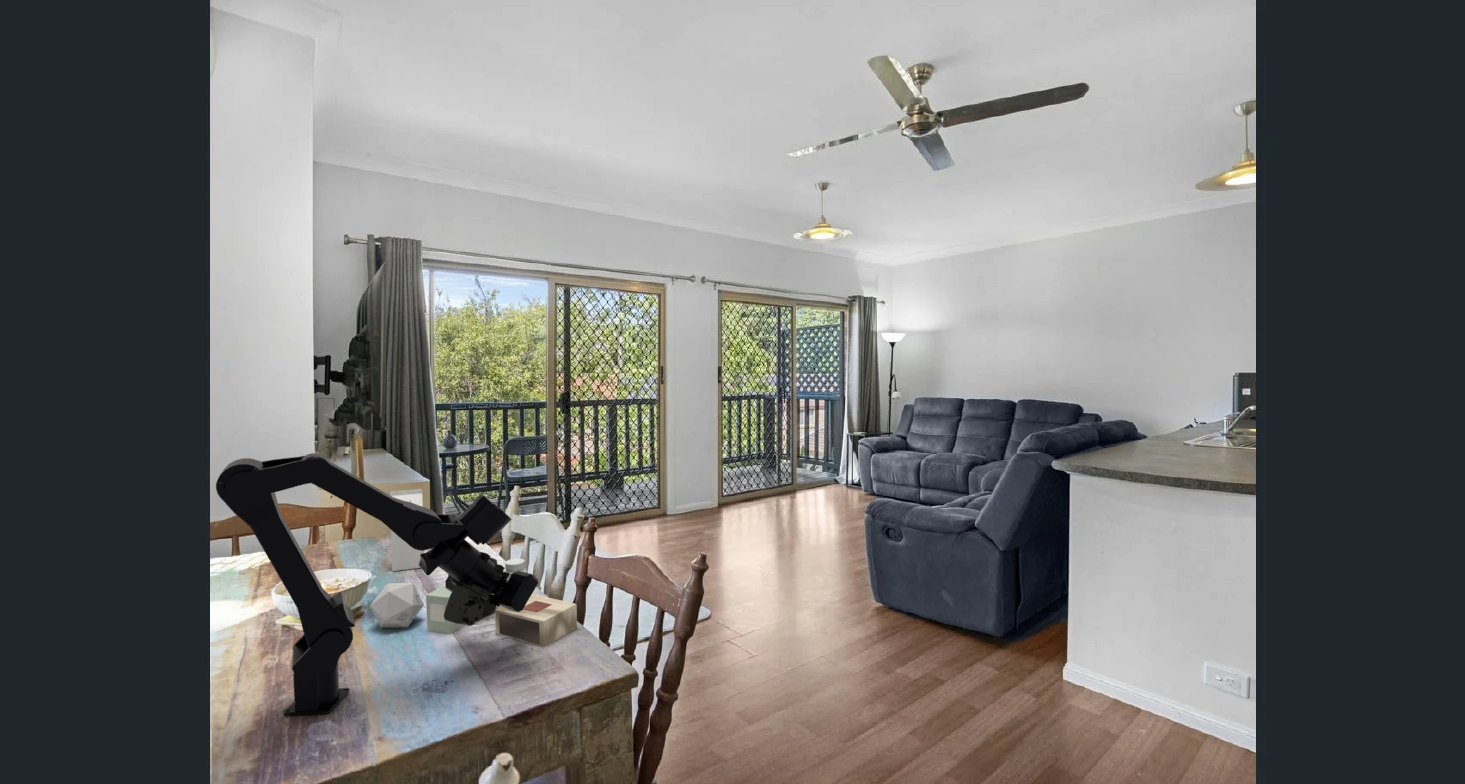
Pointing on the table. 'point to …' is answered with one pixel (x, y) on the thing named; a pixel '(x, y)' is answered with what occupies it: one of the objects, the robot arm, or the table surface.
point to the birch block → (537, 620)
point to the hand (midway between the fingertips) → (517, 604)
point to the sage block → (439, 611)
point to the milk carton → (400, 550)
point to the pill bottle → (515, 565)
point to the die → (397, 605)
